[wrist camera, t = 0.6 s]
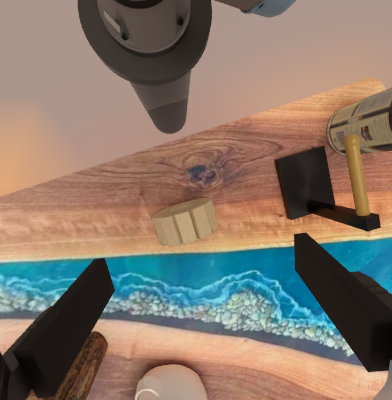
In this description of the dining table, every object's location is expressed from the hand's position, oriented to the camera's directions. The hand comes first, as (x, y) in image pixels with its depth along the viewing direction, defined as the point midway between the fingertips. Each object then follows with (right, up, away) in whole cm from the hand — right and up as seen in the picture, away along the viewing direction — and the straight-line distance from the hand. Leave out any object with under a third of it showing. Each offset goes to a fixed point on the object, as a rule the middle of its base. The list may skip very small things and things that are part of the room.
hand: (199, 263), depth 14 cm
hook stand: (+23, +8, +30) cm, 38 cm away
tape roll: (-2, +1, +24) cm, 24 cm away
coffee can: (+32, +19, +29) cm, 47 cm away
